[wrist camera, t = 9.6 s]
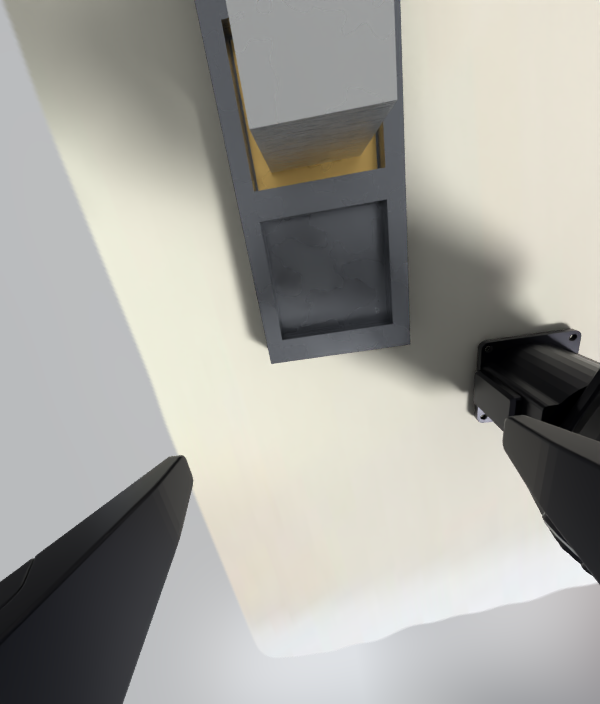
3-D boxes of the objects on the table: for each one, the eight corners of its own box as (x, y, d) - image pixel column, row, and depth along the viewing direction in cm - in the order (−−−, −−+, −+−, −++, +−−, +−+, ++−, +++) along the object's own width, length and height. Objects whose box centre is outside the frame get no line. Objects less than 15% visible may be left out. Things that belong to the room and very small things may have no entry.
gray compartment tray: (373, -340, 11) (387, -457, 9) (400, 334, 21) (410, 344, 19) (147, -270, 12) (117, -366, 10) (274, 352, 21) (271, 363, 19)
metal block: (351, 38, 14) (389, -127, 8) (360, 156, 16) (397, 99, 10) (252, 60, 15) (210, -82, 8) (271, 172, 17) (249, 129, 10)
